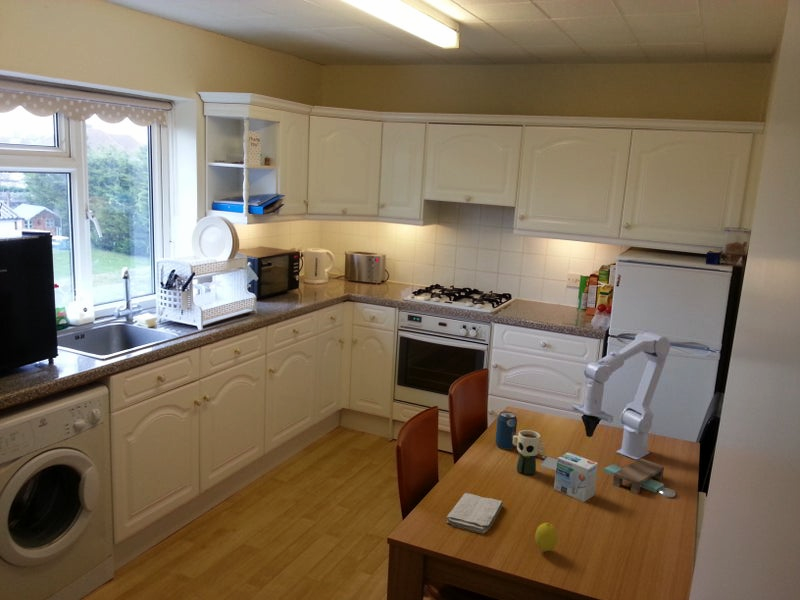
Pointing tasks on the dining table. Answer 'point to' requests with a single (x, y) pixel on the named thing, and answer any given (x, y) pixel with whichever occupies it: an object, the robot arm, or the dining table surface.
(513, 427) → the soda can
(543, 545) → the lemon
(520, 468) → the character mug
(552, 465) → the kitchen cleaver
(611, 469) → the slat
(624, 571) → the dining table surface
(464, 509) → the washcloth
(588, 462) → the light bulb box
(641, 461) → the shelf
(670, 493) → the steel disc
